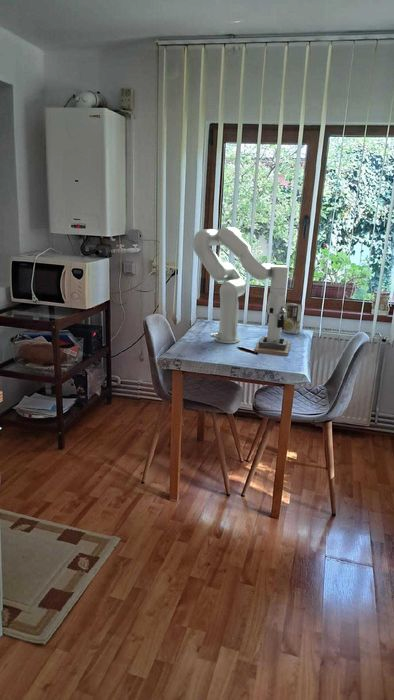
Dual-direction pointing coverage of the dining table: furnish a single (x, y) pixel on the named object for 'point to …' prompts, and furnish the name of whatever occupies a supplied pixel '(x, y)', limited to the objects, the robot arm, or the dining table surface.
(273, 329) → the travel mug
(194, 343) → the dining table surface
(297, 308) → the coffee box
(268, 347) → the pocket board
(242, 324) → the dining table surface
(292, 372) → the dining table surface
